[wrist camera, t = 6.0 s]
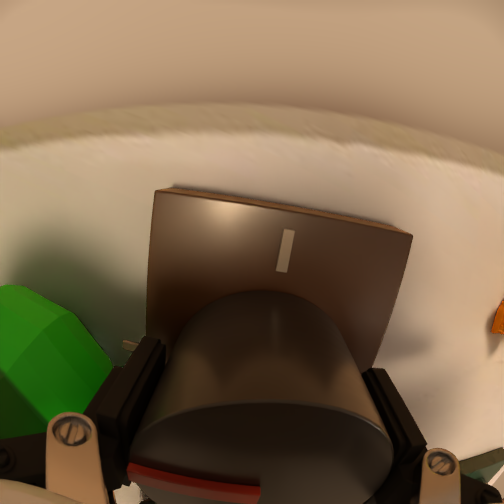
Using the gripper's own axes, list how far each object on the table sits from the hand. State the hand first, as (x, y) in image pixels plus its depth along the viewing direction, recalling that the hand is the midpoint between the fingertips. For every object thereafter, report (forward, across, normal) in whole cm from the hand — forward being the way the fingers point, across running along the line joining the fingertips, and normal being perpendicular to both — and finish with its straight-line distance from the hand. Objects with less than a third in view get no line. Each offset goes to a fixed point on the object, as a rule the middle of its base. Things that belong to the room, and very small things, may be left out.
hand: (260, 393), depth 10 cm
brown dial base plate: (+3, 0, 0) cm, 3 cm away
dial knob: (+1, 0, 0) cm, 1 cm away
